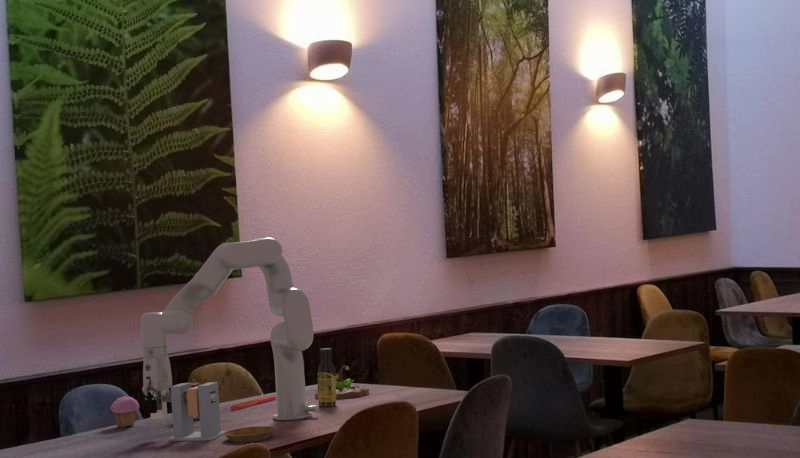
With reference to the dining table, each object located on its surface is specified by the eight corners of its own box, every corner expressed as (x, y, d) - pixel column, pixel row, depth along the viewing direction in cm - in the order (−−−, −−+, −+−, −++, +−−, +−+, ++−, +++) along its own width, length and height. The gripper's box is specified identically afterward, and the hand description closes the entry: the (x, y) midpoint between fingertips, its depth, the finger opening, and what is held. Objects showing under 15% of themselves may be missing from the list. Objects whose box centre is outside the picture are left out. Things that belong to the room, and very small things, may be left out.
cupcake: (131, 423, 363) (129, 393, 364) (145, 425, 357) (143, 395, 357) (107, 427, 357) (105, 397, 357) (121, 429, 351) (119, 399, 351)
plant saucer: (231, 446, 309) (231, 437, 309) (219, 439, 323) (218, 430, 323) (281, 439, 315) (281, 430, 315) (267, 433, 329) (266, 424, 329)
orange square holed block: (209, 411, 330) (208, 385, 330) (197, 415, 322) (195, 389, 323) (200, 411, 331) (199, 385, 331) (188, 416, 323) (186, 389, 323)
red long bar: (228, 413, 380) (237, 409, 378) (226, 407, 381) (235, 403, 378) (269, 402, 401) (279, 398, 399) (268, 397, 401) (277, 393, 399)
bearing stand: (225, 434, 330) (222, 381, 330) (211, 440, 320) (208, 386, 320) (184, 434, 334) (181, 382, 334) (168, 440, 324) (165, 387, 324)
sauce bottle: (315, 407, 373) (311, 349, 373) (323, 404, 379) (319, 347, 379) (332, 407, 371) (329, 349, 371) (340, 404, 376) (336, 347, 377)
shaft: (218, 416, 327) (216, 386, 327) (213, 418, 324) (211, 387, 324) (155, 417, 332) (153, 388, 333) (150, 419, 330) (149, 389, 330)
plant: (367, 398, 389) (365, 367, 390) (313, 401, 390) (311, 370, 390) (369, 391, 409) (368, 361, 410) (318, 394, 410) (316, 364, 410)
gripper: (152, 355, 321) (155, 415, 321) (179, 349, 338) (183, 406, 338) (129, 356, 323) (133, 415, 323) (158, 350, 340) (161, 406, 340)
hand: (158, 410), depth 330 cm, fingers open, 7 cm apart
